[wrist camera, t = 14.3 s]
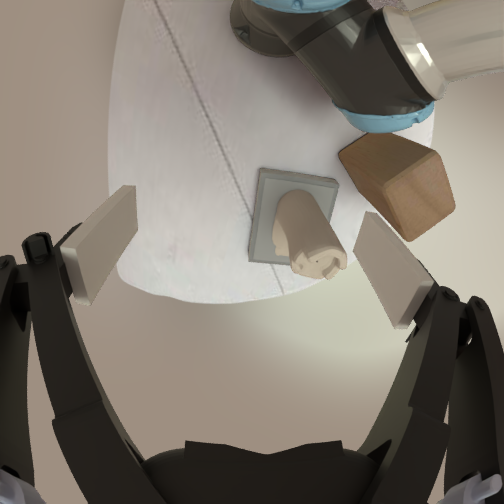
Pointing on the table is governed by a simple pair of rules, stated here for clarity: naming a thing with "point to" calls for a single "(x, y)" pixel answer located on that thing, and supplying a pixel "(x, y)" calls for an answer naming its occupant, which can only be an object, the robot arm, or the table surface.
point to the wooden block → (400, 181)
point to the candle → (307, 237)
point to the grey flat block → (266, 204)
